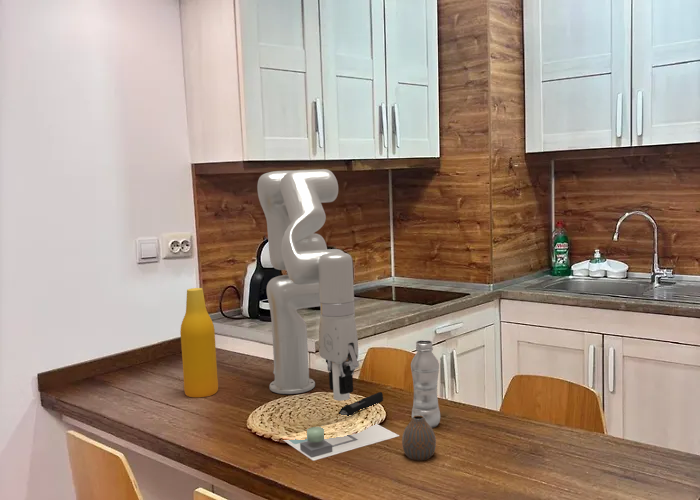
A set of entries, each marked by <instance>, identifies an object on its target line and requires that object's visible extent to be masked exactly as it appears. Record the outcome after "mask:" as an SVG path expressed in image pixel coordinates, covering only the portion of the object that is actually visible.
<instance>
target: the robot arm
mask: <svg viewBox="0 0 700 500" xmlns="http://www.w3.org/2000/svg"><path fill="white" fill-rule="evenodd" d="M256 188H257V196H258V200H259V203H260V206H261V208H262V210H263V213H264V217H265V219H266V226H267V227H266V228H267V230H266V231H267V240H268V253H269V260H270V261H269V262H270V265H271V266H272V267H273V268H274V269H275V270H279V271H286V274H283V275H278V276H275V277H272V278H271V279H270V280H269V281H268V282H267V285H266V296H267V301H268V306H269V309H270V310H269V311H270V318H271V319H270V320H271V334H272V350H273V353H272V354H273V372H272V373H273V374H274V380H272V382H270V384H269V390H270V391H271V392H273V393H275V394H279V395H295V394H296V395H297V394H302V393H306V392H309V391H311V390H312V389H314V388H315V387H316V382H315V380H314V379H312V378H310V370H309V369H310V368H309V366H310V365H309V346H308V331H307V330H308V326H307V323H306V321H305V319H304V318H303V317H302V316H301V315H300V313H298V311H297V310H300V309H307V308H315V307H320V316H319V322H318V323H319V324H318V353H319V356H320V357H321V359H324V360H325V363H326V364H327V366H326V367H327V371H328V381H329V382H328V383H329V390H330V391H333V373H332V362H334V363H336V364H339V366H340V374H341V376H339V389H340V394H347V393H350V394H351V393H353V392H354V379H353V378H354V377H353V375H355V370H356V369H358V368H359V366H360V365H359V361H358V359H359V339H358V338H359V337H358V332H357V331H358V329H357V324H356V320H355V319H356V318H355V316H356V310H355V290H354V266H353V265H354V263H353V258H352V256H351V254H350V253H346V252H344V251H343V250H342V249H339V248H338V249H337V248H332V249H331V248H329V249H328V247H327V242H326V241H325V239H324V237H323V236H322V235H321V234H319V233H316V232H318V231H319V230H320V229H321V228H323V226H324V224H325V222H326V221H327V219H326V217H327V216H326V215H327V214H326V213H325V210H324V207H323V204H322V203H333V202H334V201H335V200H336V199H337V197H338V194H339V184H338V180H337V178H336V176H335V174H334V173H333V172H332V171H331V170H329V169H325V168H324V169H322V168H321V169H298V170H275V171H270V172H266V173H263V174H261V175H260V176H259V178H258V180H257V186H256ZM347 358H348V361H346V359H347ZM346 364H348V366H346V367H345V368H344V365H346Z"/></svg>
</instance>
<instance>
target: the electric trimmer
mask: <svg viewBox="0 0 700 500" xmlns="http://www.w3.org/2000/svg"><path fill="white" fill-rule="evenodd" d="M383 401H384V395H383V392H381V391H379V392H377V393H374V394H371V395H369V396H366V397H363V398H362V399H359V400H357V401H355V402H352V403H350V404H345V405H343V407H341V408H340V409H339V411H338V414H341V415H347V416H349V415H352V414H353V413H354V412H356V411H358V410H360V409H363V408H366V407H369V406H372V405H374V404H376V403H377V404H376V405H378V404H379V403H381V402H383ZM366 409H367V408H366ZM341 415H340V416H341ZM353 415H354V414H353ZM353 415H352V416H353Z"/></svg>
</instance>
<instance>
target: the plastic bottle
mask: <svg viewBox="0 0 700 500" xmlns="http://www.w3.org/2000/svg"><path fill="white" fill-rule="evenodd" d="M415 345H416V346H415V351H416V354H415V355H414V356H413V358H412V360H411V362H410V369H411V376H412V381H413V382H412V383H413V384H412V385H413V405H412V409H411V418H412V417H413V416H416V415H421V416H423V417H424V418H425V420H426V422H427V423H428V424H429V425H430V427H431V428H432V429H434V428H436V427H438V425H439V424H440V421H441V412H440V406H439V400H438V399H439V397H438V378H439V371H440V370H439V369H440V362H439V360H438V358H437V357H436V355H435V354H434V353H433V351H434V346H433V342H432V341H431V340H427V339H425V340H423V339H422V340H421V339H420V340H416V342H415Z"/></svg>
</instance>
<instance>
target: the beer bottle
mask: <svg viewBox="0 0 700 500" xmlns="http://www.w3.org/2000/svg"><path fill="white" fill-rule="evenodd" d="M185 304H186V306H185V312H184V313H185V314H184V316H183V319H182V321H181V325H180V330H179V331H180V344H181V358H182V375H183V390H184V394H185V396H187V397H190V398H196V399H199V398H206V397H210V396H213V395H215V394H216V393H217V392H218V391H219V380H218V365H217V350H216V349H217V348H216V347H217V346H216V336H215V335H216V332H215V326H214V325H215V324H214V322H213V320H212V318H211V316H210V313H209V312H208V310H207V306H206V300H205V294H204V288H202V287H193V288H188V289H186V303H185Z"/></svg>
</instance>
